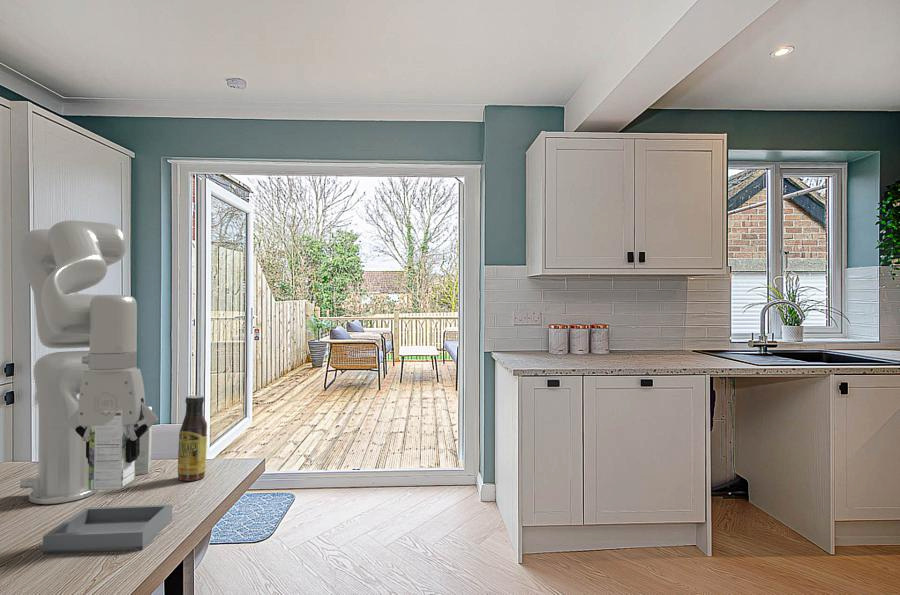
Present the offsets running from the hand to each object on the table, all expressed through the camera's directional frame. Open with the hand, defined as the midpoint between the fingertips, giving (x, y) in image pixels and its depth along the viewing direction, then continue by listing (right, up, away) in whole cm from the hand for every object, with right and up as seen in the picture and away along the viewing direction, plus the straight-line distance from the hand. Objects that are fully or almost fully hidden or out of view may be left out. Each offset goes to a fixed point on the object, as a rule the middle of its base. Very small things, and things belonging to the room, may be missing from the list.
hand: (113, 460), depth 107 cm
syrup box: (0, -5, 0) cm, 5 cm away
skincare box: (-18, -14, +41) cm, 47 cm away
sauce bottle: (-1, -14, +35) cm, 38 cm away
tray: (0, -14, 0) cm, 14 cm away
